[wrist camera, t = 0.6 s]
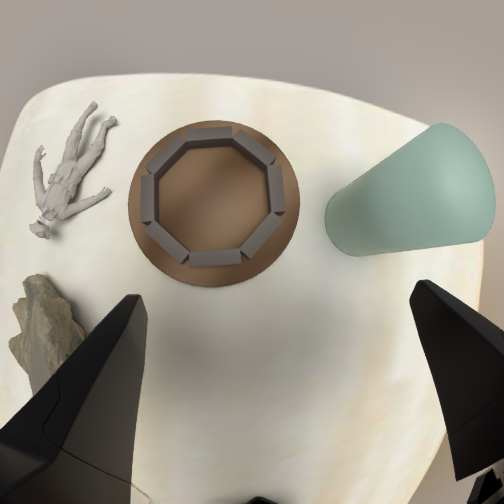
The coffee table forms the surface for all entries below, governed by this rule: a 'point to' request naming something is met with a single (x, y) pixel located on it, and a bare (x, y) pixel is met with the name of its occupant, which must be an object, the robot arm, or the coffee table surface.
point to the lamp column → (416, 198)
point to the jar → (138, 496)
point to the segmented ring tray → (213, 203)
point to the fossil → (43, 331)
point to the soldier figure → (67, 177)
